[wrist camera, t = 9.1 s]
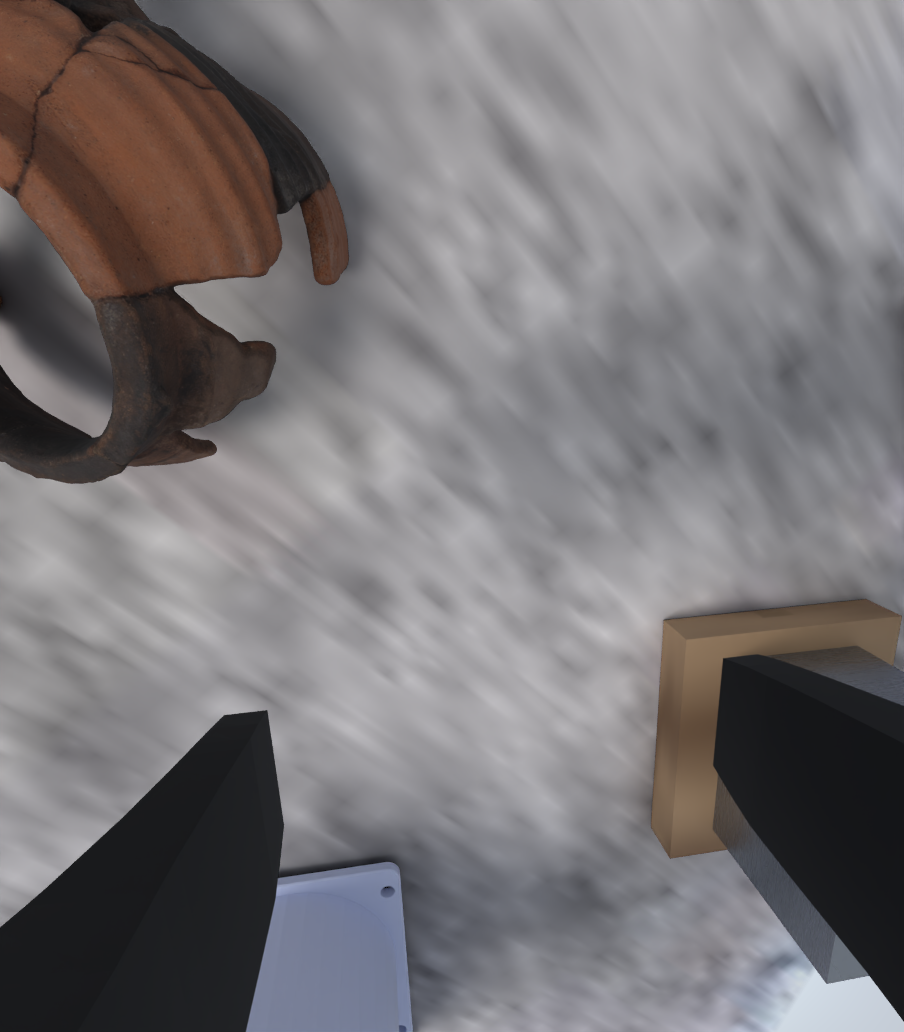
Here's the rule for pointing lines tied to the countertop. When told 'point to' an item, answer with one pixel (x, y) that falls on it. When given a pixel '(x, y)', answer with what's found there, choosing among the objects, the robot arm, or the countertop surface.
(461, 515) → the countertop surface
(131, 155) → the brown irregular piece
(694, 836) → the stand
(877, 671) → the block
